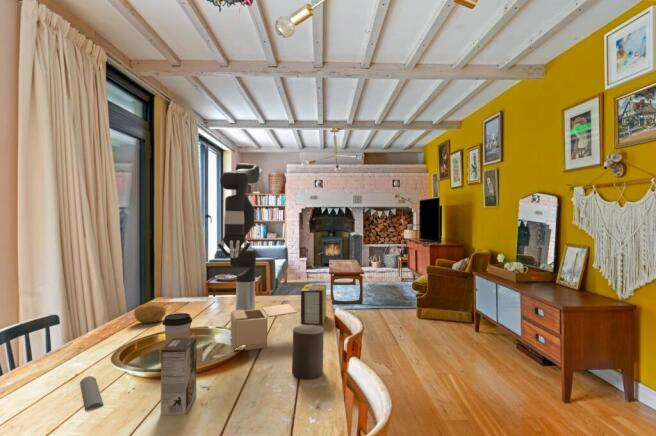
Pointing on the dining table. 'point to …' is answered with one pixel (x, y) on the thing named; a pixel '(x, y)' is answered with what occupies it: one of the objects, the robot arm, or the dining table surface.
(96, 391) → the gray half cylinder
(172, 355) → the coffee box
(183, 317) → the coffee cup
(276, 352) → the dining table surface
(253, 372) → the dining table surface
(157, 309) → the potato
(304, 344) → the pillar candle
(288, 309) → the flap
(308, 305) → the protein box
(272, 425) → the dining table surface
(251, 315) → the carton
